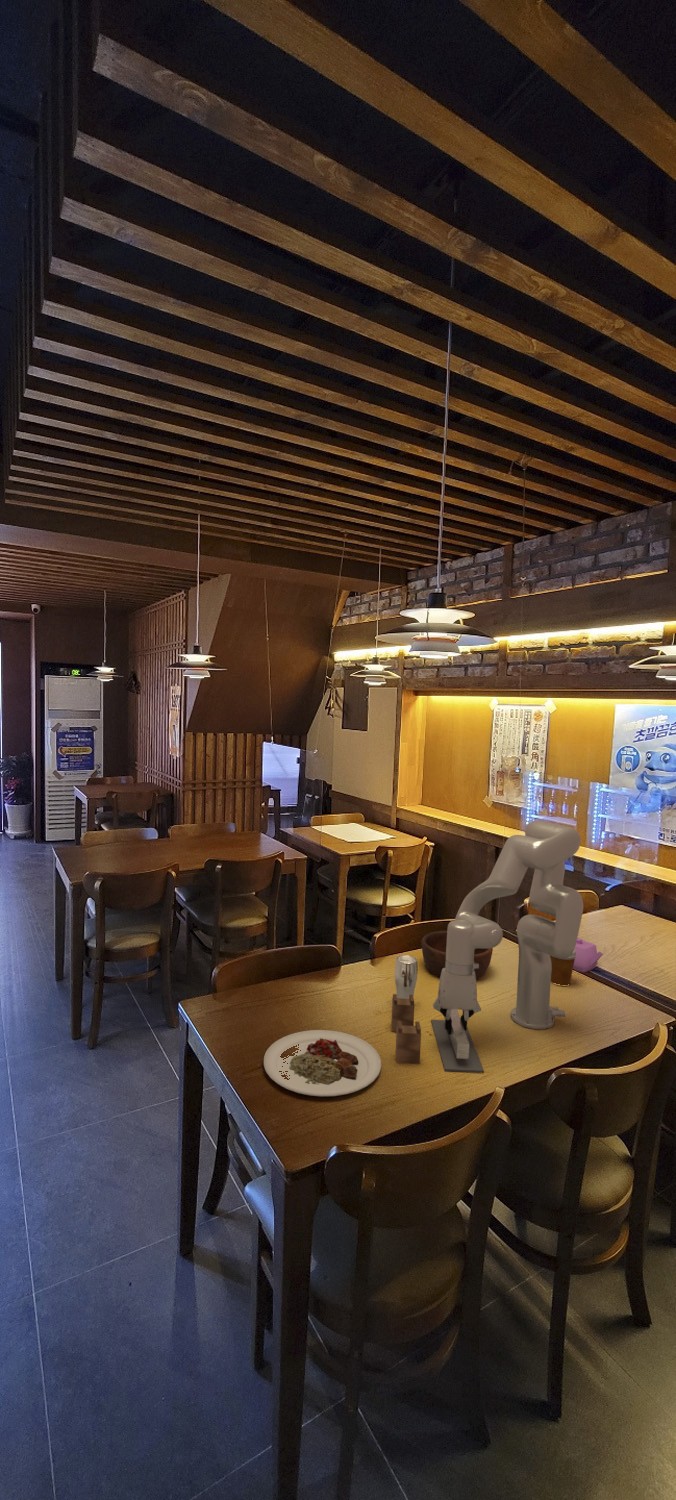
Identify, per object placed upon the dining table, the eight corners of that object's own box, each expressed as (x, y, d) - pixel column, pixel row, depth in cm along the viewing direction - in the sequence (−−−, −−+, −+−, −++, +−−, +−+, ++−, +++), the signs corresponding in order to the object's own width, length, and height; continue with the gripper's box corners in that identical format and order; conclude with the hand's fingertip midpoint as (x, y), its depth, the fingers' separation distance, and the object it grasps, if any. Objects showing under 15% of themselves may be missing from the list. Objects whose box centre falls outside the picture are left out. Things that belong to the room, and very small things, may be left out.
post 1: (411, 1025, 184) (413, 994, 183) (413, 1032, 180) (414, 1001, 179) (391, 1024, 184) (392, 994, 183) (392, 1031, 180) (393, 1000, 179)
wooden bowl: (420, 954, 239) (421, 927, 239) (487, 960, 236) (489, 933, 235) (420, 981, 215) (421, 952, 214) (495, 988, 211) (496, 958, 211)
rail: (453, 1016, 184) (454, 1002, 184) (468, 1058, 162) (469, 1044, 162) (443, 1015, 184) (444, 1002, 184) (456, 1058, 162) (457, 1043, 162)
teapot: (608, 971, 230) (610, 943, 229) (592, 977, 223) (594, 949, 223) (564, 955, 244) (565, 929, 243) (548, 961, 238) (549, 934, 237)
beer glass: (414, 1013, 191) (417, 964, 191) (392, 1010, 193) (394, 962, 192) (416, 1002, 198) (418, 956, 197) (394, 1000, 200) (396, 953, 199)
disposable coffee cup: (577, 981, 219) (579, 947, 219) (571, 991, 211) (573, 956, 211) (549, 974, 224) (551, 941, 224) (542, 983, 216) (544, 949, 216)
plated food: (285, 1114, 141) (286, 1099, 141) (249, 1047, 169) (249, 1035, 169) (402, 1087, 153) (403, 1074, 153) (350, 1029, 181) (351, 1017, 181)
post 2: (418, 1055, 168) (419, 1021, 167) (419, 1063, 164) (421, 1029, 163) (395, 1054, 168) (396, 1020, 167) (396, 1062, 164) (398, 1028, 163)
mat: (464, 1023, 186) (464, 1021, 186) (483, 1073, 160) (484, 1070, 160) (431, 1021, 186) (431, 1019, 186) (444, 1071, 160) (444, 1068, 160)
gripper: (486, 963, 176) (482, 1027, 177) (427, 960, 176) (424, 1024, 177) (492, 974, 168) (488, 1040, 169) (431, 970, 168) (427, 1037, 169)
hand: (455, 1031), depth 173 cm, fingers closed on rail, 3 cm apart
